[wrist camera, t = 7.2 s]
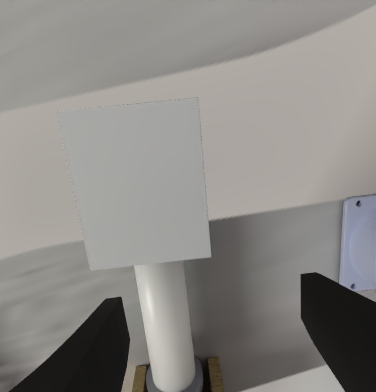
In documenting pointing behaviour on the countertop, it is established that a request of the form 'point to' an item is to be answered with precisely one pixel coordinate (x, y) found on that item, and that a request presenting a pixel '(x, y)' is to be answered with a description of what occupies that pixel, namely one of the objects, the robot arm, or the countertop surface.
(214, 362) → the socket
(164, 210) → the light grey block
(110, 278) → the countertop surface
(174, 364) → the tube
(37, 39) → the countertop surface
